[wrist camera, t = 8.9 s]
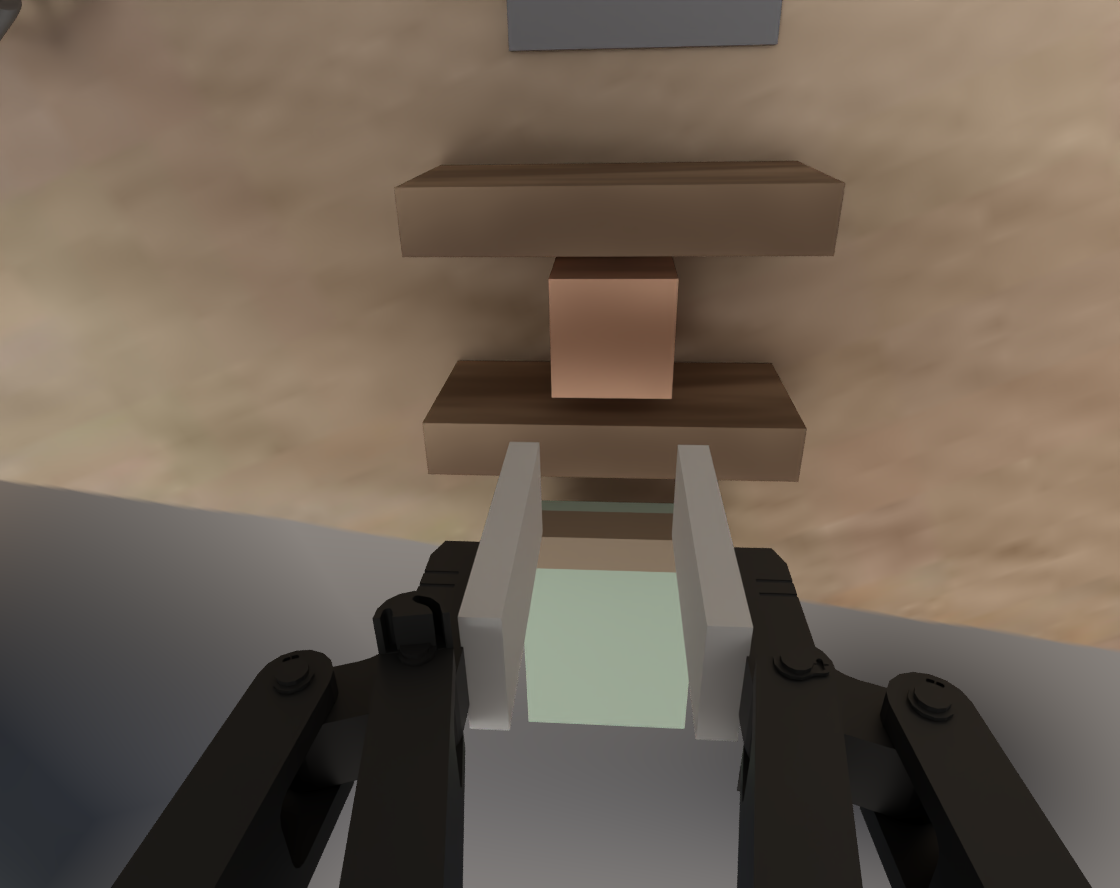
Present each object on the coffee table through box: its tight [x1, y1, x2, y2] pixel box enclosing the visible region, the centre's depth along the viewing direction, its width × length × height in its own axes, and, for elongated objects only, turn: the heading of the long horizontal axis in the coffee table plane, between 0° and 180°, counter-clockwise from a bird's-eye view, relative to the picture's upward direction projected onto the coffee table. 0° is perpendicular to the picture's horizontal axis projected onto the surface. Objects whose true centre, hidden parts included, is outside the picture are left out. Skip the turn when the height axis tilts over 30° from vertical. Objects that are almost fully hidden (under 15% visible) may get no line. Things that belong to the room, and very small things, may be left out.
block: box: [549, 256, 679, 399], centre depth 31 cm, size 5×5×7 cm
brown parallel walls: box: [394, 161, 845, 482], centre depth 31 cm, size 12×16×8 cm
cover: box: [524, 501, 689, 729], centre depth 33 cm, size 13×8×3 cm, turn 1°
